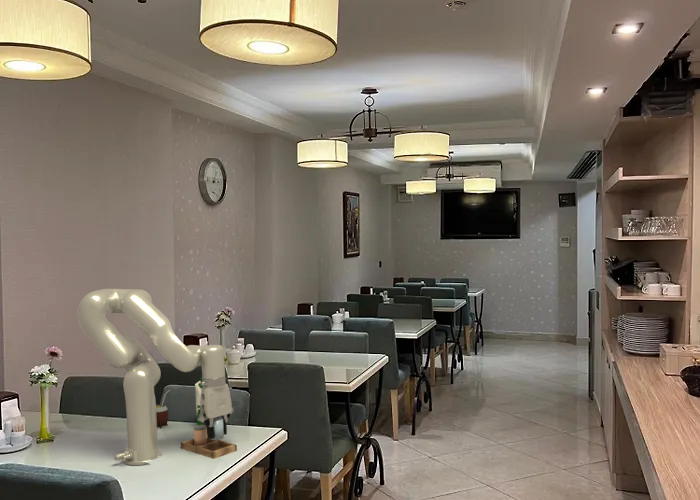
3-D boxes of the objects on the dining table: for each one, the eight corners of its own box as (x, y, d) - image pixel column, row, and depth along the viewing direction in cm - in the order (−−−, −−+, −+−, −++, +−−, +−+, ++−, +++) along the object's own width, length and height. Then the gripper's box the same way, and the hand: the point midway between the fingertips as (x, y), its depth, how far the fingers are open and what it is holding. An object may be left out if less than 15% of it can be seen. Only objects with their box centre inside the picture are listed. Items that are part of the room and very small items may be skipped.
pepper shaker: (199, 450, 225) (198, 429, 225) (191, 447, 228) (190, 427, 227) (209, 446, 228) (209, 426, 228) (202, 444, 231) (201, 424, 231)
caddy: (213, 462, 215) (213, 452, 215) (181, 451, 227) (180, 442, 227) (237, 454, 222) (236, 444, 222) (204, 444, 235) (203, 435, 235)
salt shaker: (216, 440, 219) (214, 419, 219) (208, 438, 222) (206, 417, 222) (226, 437, 222) (225, 416, 222) (218, 435, 225) (217, 414, 225)
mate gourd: (149, 425, 262) (147, 388, 261) (169, 422, 265) (167, 385, 265) (151, 430, 255) (150, 391, 255) (172, 427, 258) (171, 389, 258)
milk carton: (194, 431, 252) (192, 379, 251) (202, 424, 261) (200, 374, 260) (217, 431, 251) (214, 378, 250) (223, 424, 260) (221, 373, 259)
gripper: (200, 388, 213) (203, 444, 213) (240, 378, 225) (243, 431, 226) (186, 386, 218) (189, 440, 218) (227, 376, 230) (230, 428, 231)
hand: (217, 435), depth 222 cm, fingers closed on salt shaker, 4 cm apart
